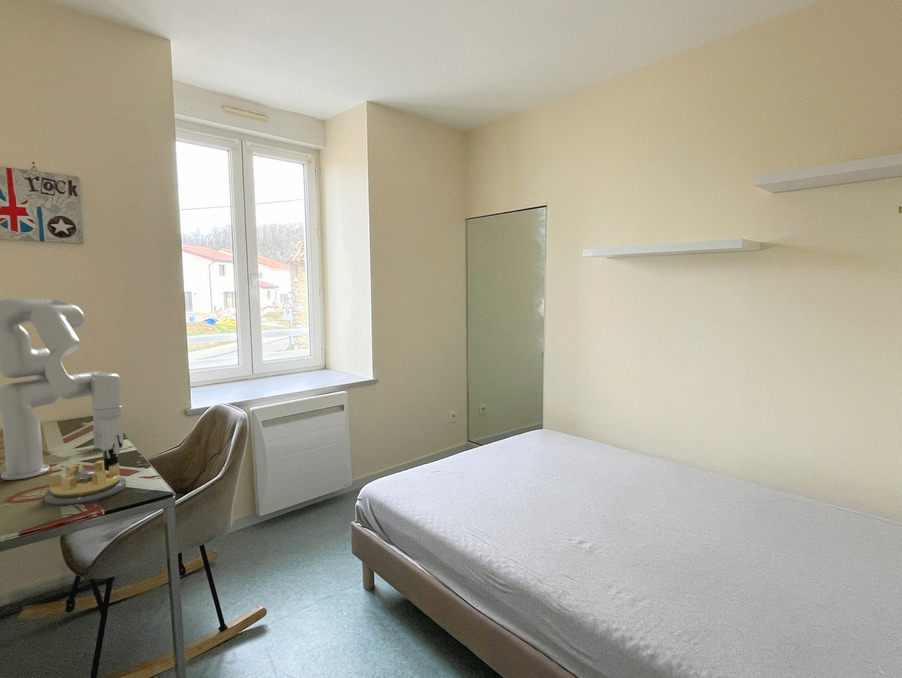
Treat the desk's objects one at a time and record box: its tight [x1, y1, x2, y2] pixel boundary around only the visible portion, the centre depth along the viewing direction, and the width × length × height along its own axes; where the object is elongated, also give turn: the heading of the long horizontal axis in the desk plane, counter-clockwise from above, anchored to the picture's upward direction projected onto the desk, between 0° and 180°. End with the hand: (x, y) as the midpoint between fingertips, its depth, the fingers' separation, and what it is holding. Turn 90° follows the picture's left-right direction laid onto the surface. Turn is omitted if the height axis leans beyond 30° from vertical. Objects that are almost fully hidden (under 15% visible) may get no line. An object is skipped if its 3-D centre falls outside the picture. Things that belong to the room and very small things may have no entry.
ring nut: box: [48, 459, 121, 498], centre depth 150 cm, size 17×17×6 cm
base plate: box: [44, 476, 127, 507], centre depth 150 cm, size 20×20×2 cm
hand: (111, 469), depth 156 cm, fingers closed
